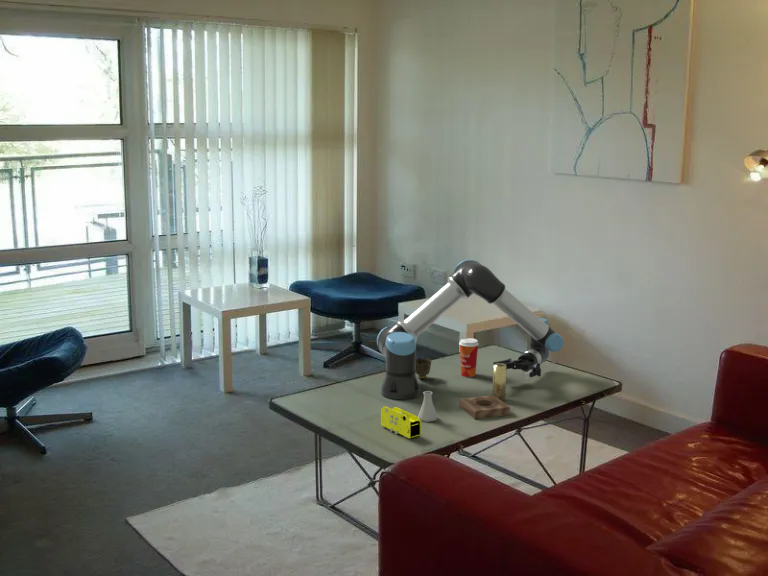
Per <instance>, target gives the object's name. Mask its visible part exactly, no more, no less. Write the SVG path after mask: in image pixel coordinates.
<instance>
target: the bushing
mask: <svg viewBox="0 0 768 576" xmlns="http://www.w3.org/2000/svg"><path fill="white" fill-rule="evenodd" d="M506 366H507V365H506V364H502V363H497V364H494V365H493V364H492V368H493V375H492V394H491V395H494V396H495V397H497V398H498V399H500V400H501V401H502V402H504V403H505V402H506V391H507V390H506V389H507V369H506Z"/></svg>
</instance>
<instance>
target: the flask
mask: <svg viewBox="0 0 768 576" xmlns="http://www.w3.org/2000/svg"><path fill="white" fill-rule="evenodd" d="M422 393H423V401H422V404H421V408H420V410H419V412H418V415H417V416H418V418H419V419H420V421H421V422H425V423H426V422H430V423H431V422H434V421H437V420H438V419H439V417H438V413H437V410H436V408H435V406H434V402H433V398H432V397H433V393H434V392H432V391H431V390H426V391H423V392H422Z"/></svg>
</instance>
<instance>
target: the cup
mask: <svg viewBox="0 0 768 576" xmlns="http://www.w3.org/2000/svg"><path fill="white" fill-rule="evenodd" d="M431 366H432V359H430V358H429V357H428V358H427V357H425V359H423V357H421V358H420V357H418V358H416V369H415V374H416V376H417V378H418V379H419V380H425V379H427V377H428V375H429V373H430V371H431Z"/></svg>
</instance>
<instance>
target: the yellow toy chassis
mask: <svg viewBox="0 0 768 576" xmlns="http://www.w3.org/2000/svg"><path fill="white" fill-rule="evenodd" d="M380 426H382V427H384V428H386V429H387V430H389V431H390V432H392V433H393V432H394V434H395V435H398V434H400V435H402V436H403V437H404V438H406V439H413V438H414V439H415V438H417V437H418V436H422V421H421V420H420V419H419V418H418V415H415V414H413V413H411V412H408V411H405V410H404V409H402V408H399V407H396V406H393V407H392V408H390V407H388V406H385V405H384V406H383V407H382V408H380Z"/></svg>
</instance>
